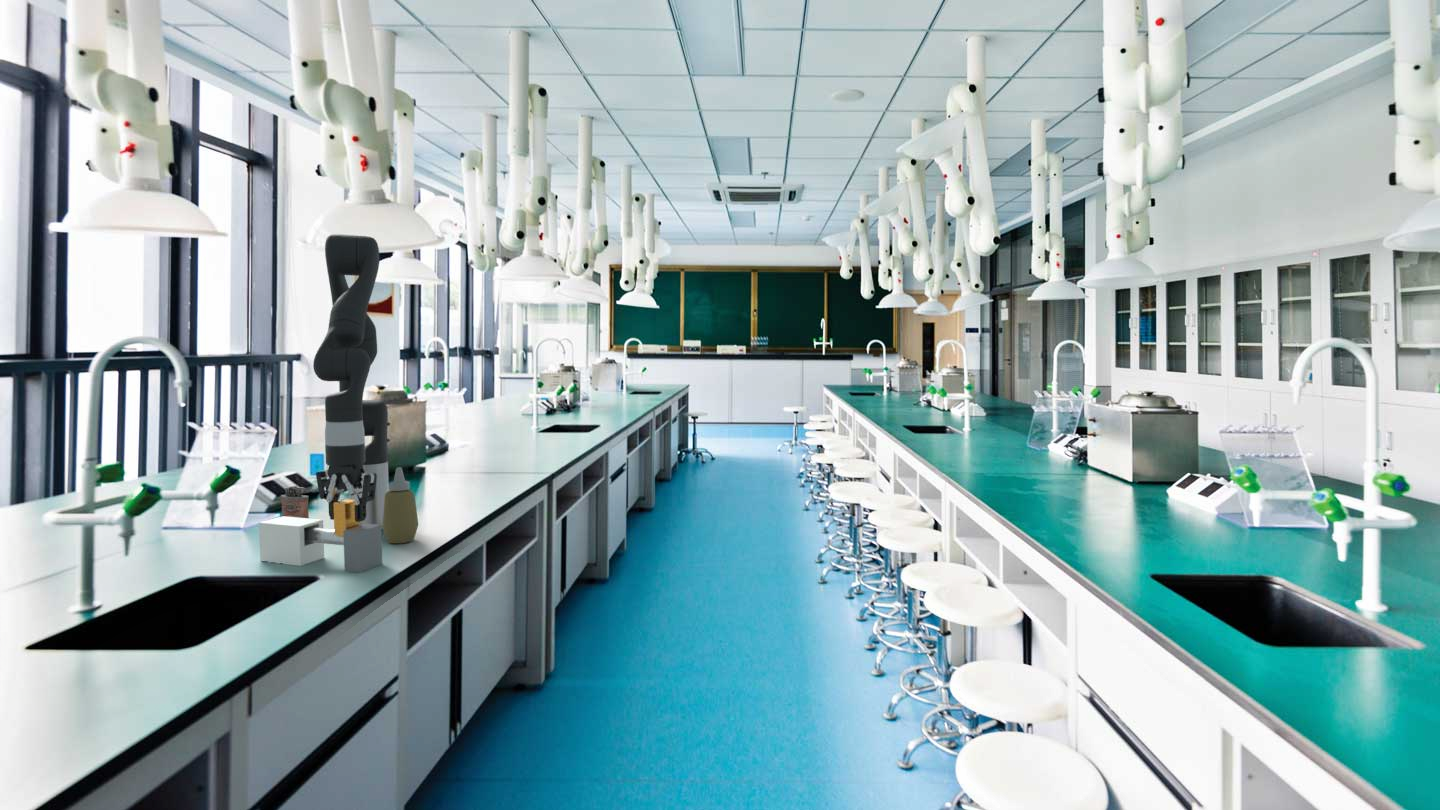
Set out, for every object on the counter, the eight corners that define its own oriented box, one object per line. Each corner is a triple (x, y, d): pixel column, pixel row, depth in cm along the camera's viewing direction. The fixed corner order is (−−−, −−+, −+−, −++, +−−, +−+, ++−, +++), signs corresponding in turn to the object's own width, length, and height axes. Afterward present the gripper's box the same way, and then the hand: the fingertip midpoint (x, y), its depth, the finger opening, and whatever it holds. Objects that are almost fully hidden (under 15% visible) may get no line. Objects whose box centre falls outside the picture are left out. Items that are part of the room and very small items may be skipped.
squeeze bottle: (408, 535, 184) (406, 463, 183) (425, 540, 179) (423, 467, 178) (376, 541, 178) (374, 467, 176) (392, 547, 173) (390, 471, 171)
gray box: (344, 570, 155) (343, 530, 154) (367, 562, 161) (365, 523, 160) (360, 572, 154) (359, 532, 153) (382, 563, 160) (381, 524, 159)
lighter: (278, 524, 194) (276, 486, 193) (289, 521, 197) (287, 484, 197) (302, 526, 192) (300, 488, 191) (313, 523, 195) (311, 486, 194)
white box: (260, 561, 161) (258, 522, 160) (284, 553, 167) (283, 516, 166) (300, 565, 158) (299, 526, 157) (324, 557, 164) (323, 519, 163)
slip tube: (293, 543, 160) (292, 499, 159) (308, 538, 163) (307, 495, 163) (362, 550, 155) (360, 505, 154) (375, 545, 158) (374, 501, 158)
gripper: (386, 441, 158) (388, 518, 159) (331, 438, 162) (333, 513, 163) (359, 445, 151) (362, 526, 152) (303, 442, 155) (306, 521, 156)
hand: (347, 519), depth 158 cm, fingers open, 6 cm apart
